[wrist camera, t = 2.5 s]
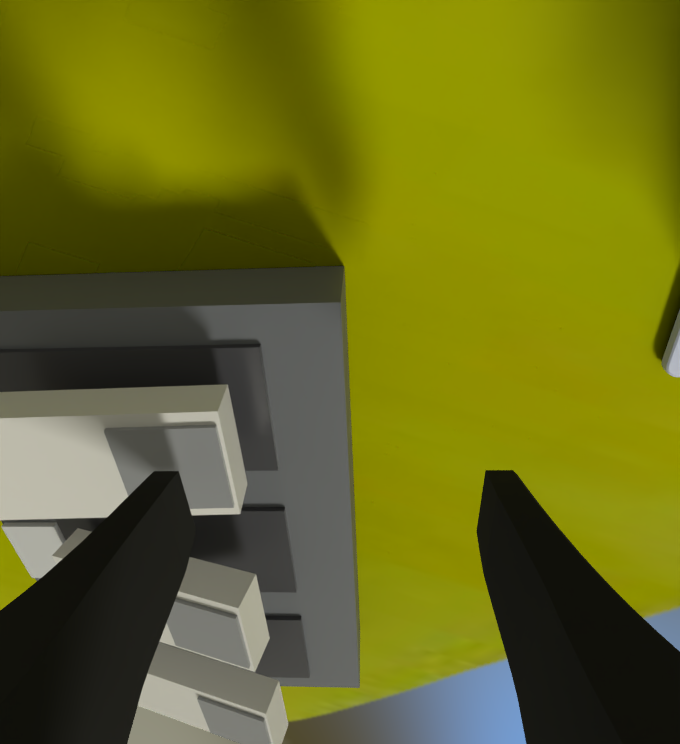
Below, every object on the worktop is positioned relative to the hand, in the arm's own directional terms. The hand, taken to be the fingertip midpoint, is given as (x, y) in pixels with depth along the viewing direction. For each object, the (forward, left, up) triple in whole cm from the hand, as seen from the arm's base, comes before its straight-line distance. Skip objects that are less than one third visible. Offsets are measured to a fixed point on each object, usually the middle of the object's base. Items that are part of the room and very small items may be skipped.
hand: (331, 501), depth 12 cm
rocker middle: (+6, +7, -2) cm, 9 cm away
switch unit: (+6, +7, -7) cm, 11 cm away
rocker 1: (+6, 0, -2) cm, 7 cm away
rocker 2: (+6, +13, -2) cm, 15 cm away
